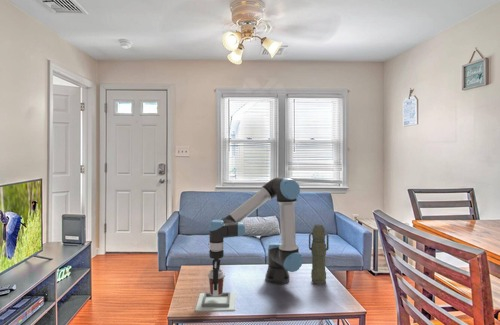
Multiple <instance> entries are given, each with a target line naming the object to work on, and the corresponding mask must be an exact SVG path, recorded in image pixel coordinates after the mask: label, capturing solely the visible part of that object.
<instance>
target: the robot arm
mask: <svg viewBox="0 0 500 325" xmlns="http://www.w3.org/2000/svg"><path fill="white" fill-rule="evenodd" d="M300 193H301V187H300V184H299V182H297V181H296V180H295V179H293V178H289V177H278V176H277V177H275V178H272V179H271V180H268V182H266V183H264V185H262V186H261V187H260V190H259V191H258V192H256V193H255V194H254V195H252V196H251V197H250V198H249V199H247V200H246V201H244V203H241V205H239V206H238V207H237V208H236V209H234V210H233V211H231V213H229V214H228V215H227V216H225V217H220V218H219V219H213V220H210V221H209V227H208V229H209V230H208V233H209V238H208V239H209V243H208V246H209V247H208V248H209V251H208V252H209V254H208V255H209V256H208V257H209V259H213V260H212V270H213V283H212V284H213V296H218V270H219V269H220V270H221V268H220V267H221V259H222V258H224V256H225V255H224V247H225V246H224V245H225V244H224V243H225V242H224V240H225V239H224V238H235V237H237V238H238V237H242V236H244V235H245V234H246V226H245V223H244V222H242V221H243V220H245V219H246V218H247V217H249V216H250V215H251V214H252V213H254V212H255V211H256V210H257V209H258V208H260V207H262V205H263V204H265V203H266V202H267V201H271V200H272V199H274V198H276V202H277V203H278V204H279V219H280V220H279V222H280V241H281V242H271V243H269V244H268V245H267V246H268V248H267V254H268V255H267V256H268V257H267V270H266V274H265V276H264V277H265V281H266V282H267V283H270V284H273V285H284V284H288V283H289V282H290V274H289V273H290V272H291V273H295V272H297V271H299V270H300V268H301V267H302V265H303V263H304V262H303V261H304V260H303V256H302V254H301V253H300V251H299V250H300V249H299V248H300V247H299V245H298V244H297V241H296V240H297V238H296V236H297V235H296V216H295V204H296V203H297V198H298V197H299V195H300Z"/></svg>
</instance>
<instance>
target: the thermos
mask: <svg viewBox="0 0 500 325" xmlns="http://www.w3.org/2000/svg"><path fill="white" fill-rule="evenodd" d="M311 237H312V240H311ZM311 241H312V242H311ZM329 241H330V240H329V235H328V233H327V232H326V229H325V226H324V225H323V224H315V225H313V227H312V231H311V232H309V234H308V249H309V251H311V253H310V254H311V260H312V261H311V262H312V264H311V273H310V274H311V275H310V276H311V283H312V284H313V285H316V286H317V285H318V286H323V285H326V284H327V271H326V255H327V251H328V250H329Z"/></svg>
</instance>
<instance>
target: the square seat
mask: <svg viewBox="0 0 500 325" xmlns="http://www.w3.org/2000/svg"><path fill="white" fill-rule="evenodd" d="M236 295H237V292H228V291H227V292H226V291H225V292H222V295H221V296H211V295H210V292H201V293H199V296H198V299H197V303H196V305H195V308H194V312H236V299H237V298H236V297H237V296H236Z"/></svg>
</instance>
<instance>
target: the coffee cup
mask: <svg viewBox="0 0 500 325" xmlns="http://www.w3.org/2000/svg"><path fill="white" fill-rule="evenodd" d="M225 276H226V274H225V273H224V271H223V270H222V269H221V268H220V269H219V270H218V296H221V295H222V292H223V290H224V289H223V288H224V278H225ZM207 277H208V281H209V293H210V295H211V296H213V284H212V283H213V269H210V271H209V273H207Z"/></svg>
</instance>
